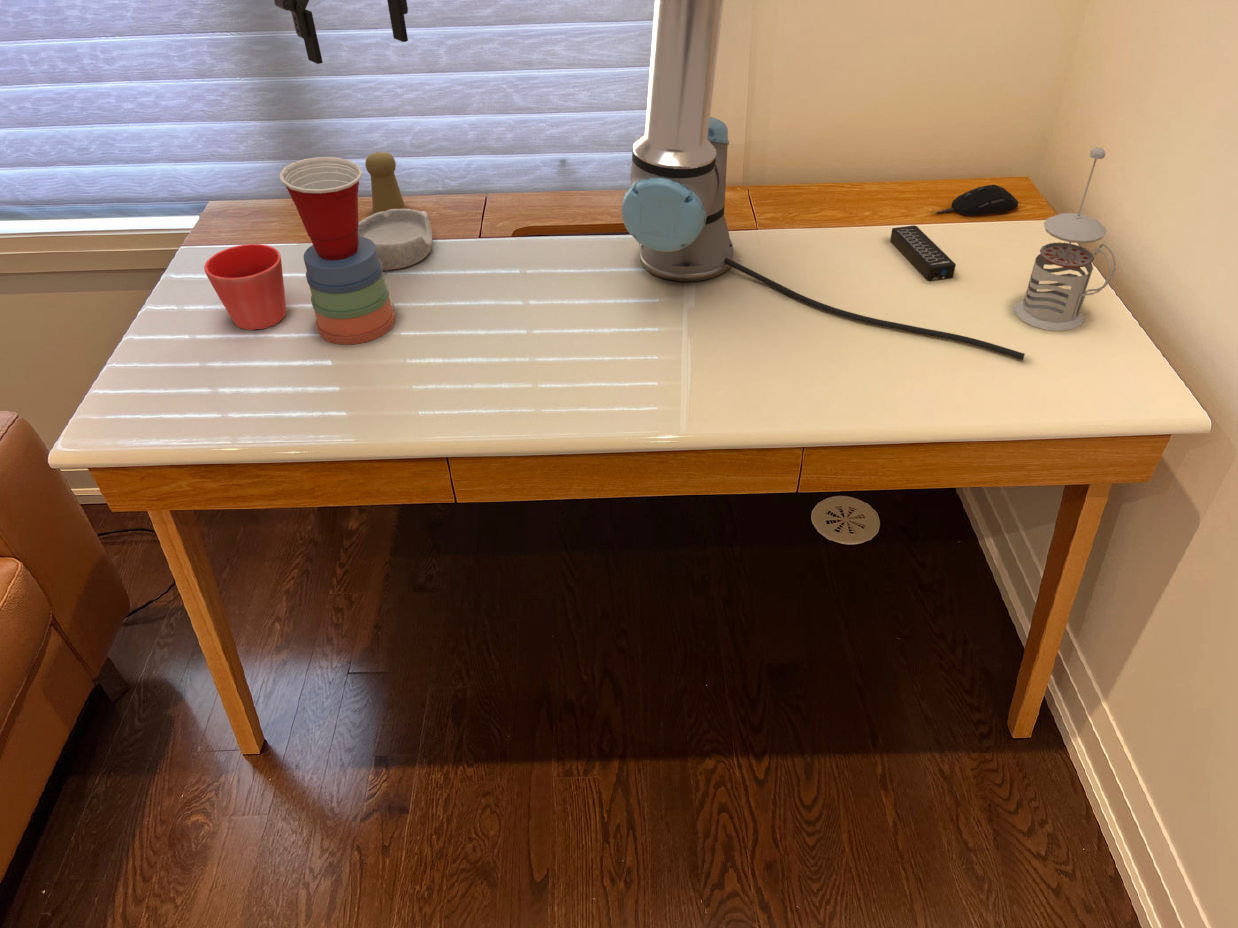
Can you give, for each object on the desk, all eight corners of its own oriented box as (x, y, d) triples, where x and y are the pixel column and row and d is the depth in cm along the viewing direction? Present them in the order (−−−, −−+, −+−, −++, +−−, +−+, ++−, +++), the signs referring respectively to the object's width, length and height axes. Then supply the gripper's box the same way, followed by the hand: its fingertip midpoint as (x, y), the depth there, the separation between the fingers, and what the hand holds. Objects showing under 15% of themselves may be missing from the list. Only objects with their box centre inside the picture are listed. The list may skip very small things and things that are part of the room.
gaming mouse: (928, 206, 169) (933, 185, 167) (1005, 197, 171) (1010, 176, 169) (944, 221, 164) (949, 199, 162) (1023, 212, 166) (1029, 190, 164)
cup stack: (410, 324, 143) (396, 252, 135) (341, 353, 137) (322, 279, 129) (371, 296, 149) (355, 225, 142) (303, 323, 144) (284, 251, 136)
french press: (1033, 290, 146) (1079, 128, 130) (1108, 316, 139) (1166, 150, 123) (1001, 314, 141) (1045, 149, 125) (1077, 343, 134) (1134, 172, 118)
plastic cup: (359, 272, 131) (341, 189, 123) (287, 266, 132) (264, 184, 125) (389, 236, 139) (373, 156, 131) (321, 231, 140) (301, 152, 133)
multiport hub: (913, 237, 160) (915, 224, 159) (954, 278, 149) (957, 264, 148) (889, 240, 160) (891, 227, 158) (927, 281, 149) (930, 268, 147)
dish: (429, 229, 167) (425, 202, 164) (443, 264, 157) (439, 236, 154) (346, 243, 164) (340, 216, 161) (355, 279, 154) (349, 251, 151)
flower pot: (258, 343, 140) (239, 284, 133) (208, 324, 144) (188, 266, 138) (311, 311, 146) (295, 253, 140) (262, 293, 151) (245, 237, 145)
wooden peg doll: (403, 220, 170) (392, 161, 163) (370, 221, 170) (357, 162, 163) (409, 206, 175) (399, 147, 168) (377, 206, 175) (365, 148, 168)
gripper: (394, -140, 128) (420, 26, 142) (218, -115, 116) (264, 65, 129) (425, -135, 124) (448, 36, 137) (245, -108, 111) (290, 77, 125)
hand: (359, 50), depth 133 cm, fingers open, 13 cm apart
